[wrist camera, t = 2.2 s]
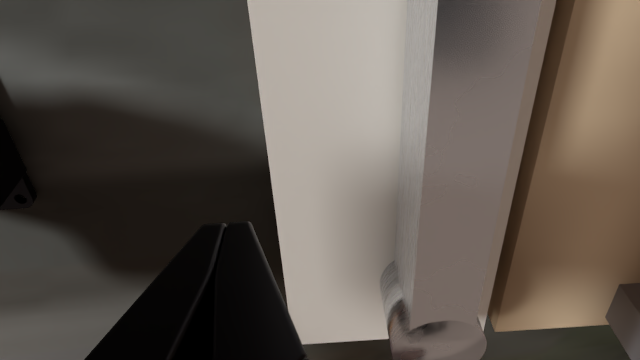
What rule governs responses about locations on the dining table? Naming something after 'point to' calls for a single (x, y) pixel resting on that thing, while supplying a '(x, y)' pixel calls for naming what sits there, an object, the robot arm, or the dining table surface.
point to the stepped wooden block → (579, 182)
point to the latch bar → (452, 168)
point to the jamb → (348, 154)
